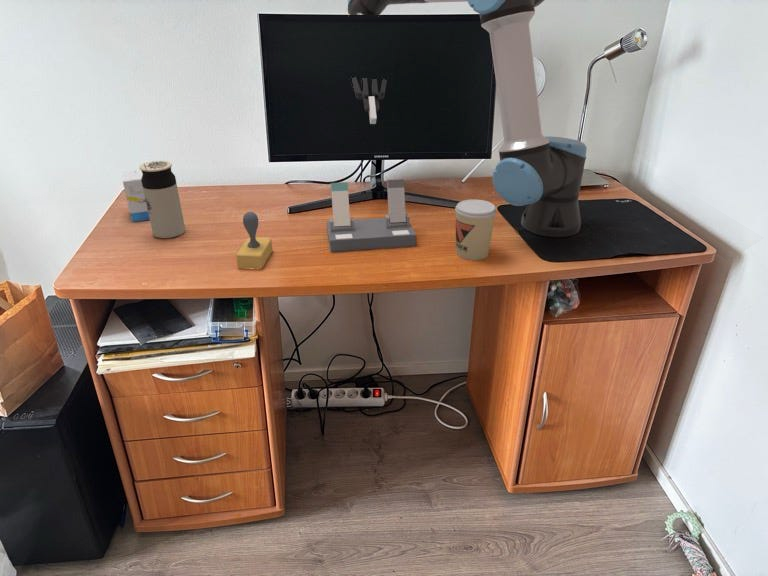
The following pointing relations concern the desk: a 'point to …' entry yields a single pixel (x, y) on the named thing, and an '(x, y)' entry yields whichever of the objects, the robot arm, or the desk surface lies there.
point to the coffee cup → (474, 228)
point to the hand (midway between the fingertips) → (373, 121)
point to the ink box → (135, 195)
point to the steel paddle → (396, 201)
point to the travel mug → (162, 199)
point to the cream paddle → (340, 204)
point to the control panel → (370, 234)
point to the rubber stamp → (253, 245)
